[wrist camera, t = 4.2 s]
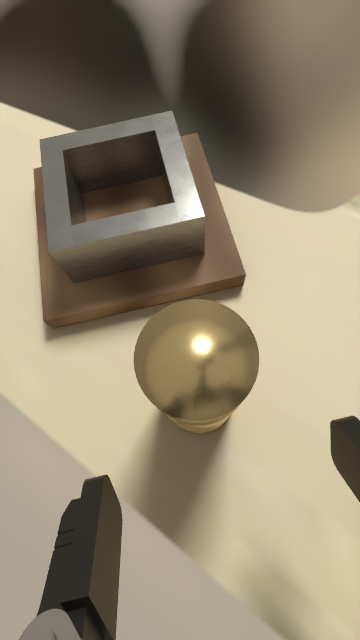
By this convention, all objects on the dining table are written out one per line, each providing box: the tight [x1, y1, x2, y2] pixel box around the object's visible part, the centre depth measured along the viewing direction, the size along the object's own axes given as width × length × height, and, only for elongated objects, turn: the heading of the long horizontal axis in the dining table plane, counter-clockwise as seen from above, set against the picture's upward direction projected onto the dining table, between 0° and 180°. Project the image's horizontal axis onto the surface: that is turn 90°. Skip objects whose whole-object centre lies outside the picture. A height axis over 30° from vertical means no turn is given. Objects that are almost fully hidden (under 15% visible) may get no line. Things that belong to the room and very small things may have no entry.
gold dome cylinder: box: [134, 299, 259, 433], centre depth 16 cm, size 4×4×10 cm
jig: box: [34, 111, 246, 328], centre depth 23 cm, size 14×14×6 cm
